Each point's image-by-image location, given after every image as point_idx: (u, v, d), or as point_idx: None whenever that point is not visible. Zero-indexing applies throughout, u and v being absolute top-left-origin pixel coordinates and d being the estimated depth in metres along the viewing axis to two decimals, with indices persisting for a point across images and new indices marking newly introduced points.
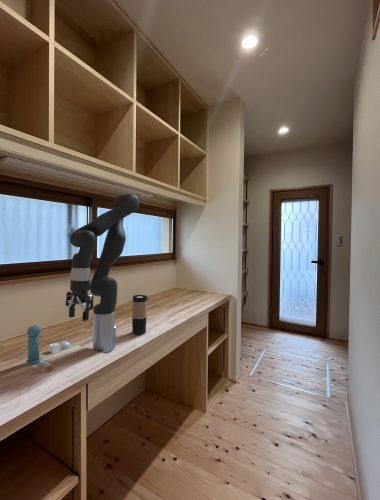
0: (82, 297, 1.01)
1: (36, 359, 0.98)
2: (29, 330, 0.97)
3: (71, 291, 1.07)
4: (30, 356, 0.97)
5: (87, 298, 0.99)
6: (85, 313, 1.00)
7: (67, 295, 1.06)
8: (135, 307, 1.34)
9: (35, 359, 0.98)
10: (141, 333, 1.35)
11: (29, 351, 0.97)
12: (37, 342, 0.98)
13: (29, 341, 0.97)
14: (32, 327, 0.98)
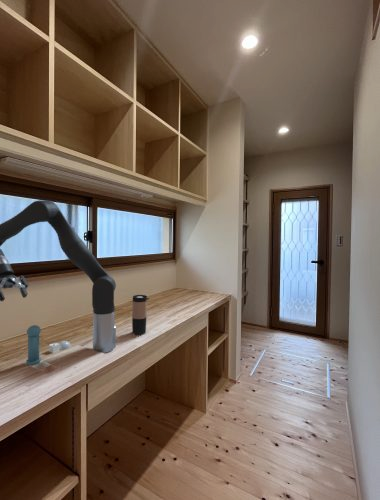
0: None
1: (36, 359, 0.98)
2: (29, 330, 0.97)
3: (21, 276, 1.13)
4: (30, 356, 0.97)
5: None
6: None
7: None
8: (135, 307, 1.34)
9: (35, 359, 0.98)
10: (141, 333, 1.35)
11: (29, 351, 0.97)
12: (37, 342, 0.98)
13: (29, 341, 0.97)
14: (32, 327, 0.98)
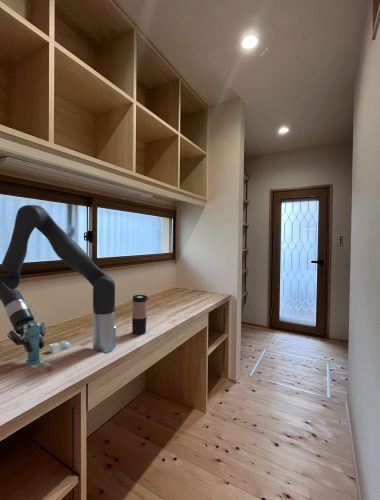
0: None
1: (36, 359, 0.98)
2: (29, 330, 0.97)
3: (42, 323, 1.07)
4: (30, 356, 0.97)
5: None
6: None
7: None
8: (135, 307, 1.34)
9: (35, 359, 0.98)
10: (141, 333, 1.35)
11: None
12: (37, 342, 0.98)
13: (29, 341, 0.97)
14: (32, 327, 0.98)
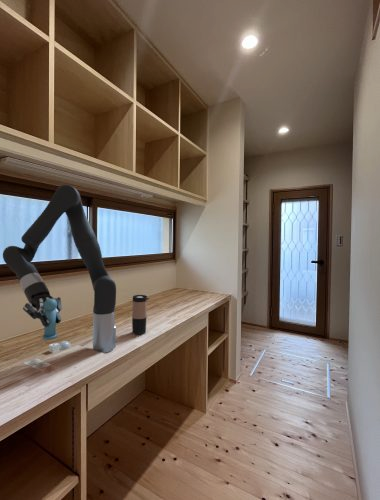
0: None
1: (53, 334, 0.93)
2: (46, 303, 0.92)
3: (58, 298, 1.01)
4: (47, 331, 0.92)
5: None
6: None
7: None
8: (135, 307, 1.34)
9: (52, 334, 0.93)
10: (141, 333, 1.35)
11: None
12: (54, 316, 0.93)
13: (46, 315, 0.92)
14: (49, 300, 0.92)
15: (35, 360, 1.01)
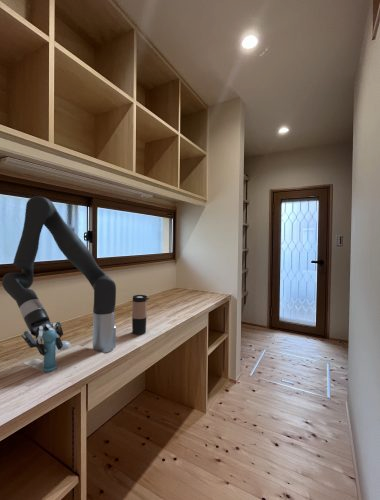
0: None
1: (52, 366, 0.93)
2: (45, 335, 0.92)
3: (57, 322, 1.02)
4: (46, 363, 0.92)
5: None
6: None
7: None
8: (135, 307, 1.34)
9: (51, 366, 0.93)
10: (141, 333, 1.35)
11: (45, 357, 0.92)
12: (53, 348, 0.94)
13: (45, 347, 0.92)
14: (48, 332, 0.93)
15: (35, 360, 1.01)
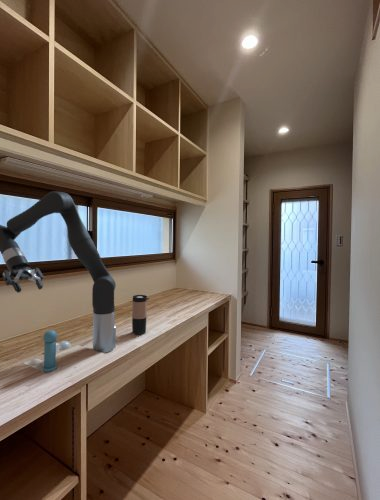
0: None
1: (52, 366, 0.93)
2: (46, 335, 0.92)
3: (36, 268, 1.13)
4: (47, 363, 0.92)
5: None
6: None
7: None
8: (135, 307, 1.34)
9: (51, 366, 0.93)
10: (141, 333, 1.35)
11: (45, 357, 0.92)
12: (54, 348, 0.93)
13: (45, 347, 0.92)
14: (49, 332, 0.93)
15: (35, 360, 1.01)
